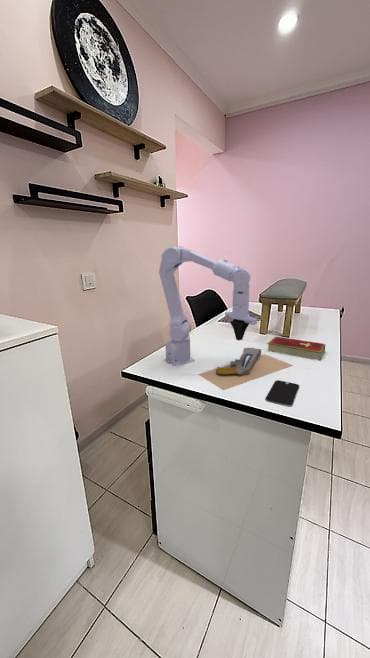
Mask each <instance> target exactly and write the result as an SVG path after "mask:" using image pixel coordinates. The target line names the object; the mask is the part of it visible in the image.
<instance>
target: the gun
mask: <svg viewBox="0 0 370 658" xmlns="http://www.w3.org/2000/svg"><path fill="white" fill-rule="evenodd" d="M260 355H262V349H260V348H256V347H244V348H243V350H242V354H241V355H240V357H239V359H238V358H237V359H235V360H232V361H230V362H229V364H228V365H229V367H226V368H221V367H222V366H220V367H219V366H217V367H216V368H215V369H216V373H217V374H240V375H243V374H246V375H249V374H250V372H251V370H252V368H253V367H254V365H255V363H256V361H257V360H258V359H259V356H260Z"/></svg>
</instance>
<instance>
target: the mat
mask: <svg viewBox="0 0 370 658" xmlns="http://www.w3.org/2000/svg"><path fill="white" fill-rule="evenodd" d="M229 365H230V364H227V365H224V366H220V367H221V368H226V367H229ZM293 366H294V365H293V364H291V363H288V362H286V361H283V360H281V359H278V358H275V357H272V356H269V355H267V354H265V353H264V354H261V355H260V356H259V359H258V360H257V361H256V363H255V365H254V367H253V368H252V370H251V372H250V374H249V375H246V374H243V375H240V374H217V373H216V369H217V368H213V369H211V370H207V371H204V372H200V373H198V374H197V375H198V376H200V377H201V378H204V379H205V380H206V381H208V382H210V383H211V384H213V385H214V386H216V387H218V388H219V389H220V390H223V391H225V390H228V389H231V388H233V387H236V386H240V385H242V384H245V383H247V382H250V381H254V380H256V379H260V378H261V377H265V376H267V375H271V374H273V373H275V372H279V371H281V370H284V369H287V368H290V367H293Z"/></svg>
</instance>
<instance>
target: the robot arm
mask: <svg viewBox="0 0 370 658" xmlns="http://www.w3.org/2000/svg"><path fill="white" fill-rule="evenodd" d="M160 257H161V261H160V265H159V268H158V274H159V278H160V281H161V285H162V288H163V289H162V290H163V293H164V298H165V301H166V305H167V308H168V313H169V317H170V318H169V336H170V339H171V340H169V341H167V342H165V359H164V360H165V361H166V362H168V363H170V364H171V365H172V366H174V367H176V366H177V367H178V366H181V365H184V364H188V363H191V362H195V360H196V359H195V358H193V357H191V337H190V333H191V332H192V324H191V323H190V322H189V320H188V318H187V316H186V315H185V313H184V310H183V306H182V301H181V297H180V293H179V290H178V285H177V281H176V278H175V277H176V276H175V273H176V271H177V269H178V268H179V267H180V266H181V265H182V264H183V263H186V262H191V263H195V264H196V265H197V264H198V265H200V266H202V267H205V268H208V269H210V270H211V271H212V273H213V275H214V276H217V277H219V278H221V279H224V280H225V281H227V282H232V283H233V291H232V307H231V308H232V311H226V312H225V313H224V317H225V318H228V319H229V318H230V319H232V320H230V322H229V323H230V325H231V326H232V329H233V333H234V336H235V340H236V341H243V339H244V336H245V333H246V330H247V328H248V327H249V325H251V326H256V325H257V324H258V318H255V317H253V316H250V314H249V307H250V306H249V305H250V280H251V273H250V271H249V270H247V269H246V268H245V267H242V268H241V265H239V264H237V265H235V264H233V263H230V262H228V259H225V258H224V259H222V258H221V259H218V260H215V259H212V258H210V257H208V256H206V255H205V254H202V253H200V252H198V251H196V250H193V249H190V248H187V247H184V246H181V245H180V246H179V245H178V246H174V245H170V246H168V247H166V248H165V249H164V251H163V252H162V253H161V255H160Z"/></svg>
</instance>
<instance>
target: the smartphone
mask: <svg viewBox="0 0 370 658" xmlns="http://www.w3.org/2000/svg"><path fill="white" fill-rule="evenodd" d="M299 389H300V385H299V384H297V383H293V382H289V381H284V380H280V379H279V380H275V381H274V383H273V385H272V386H271V388H270V389H269V390H268V393H267V394H266V396H265V399H264V400H265V401H266V402H267V403H272V404H275V405H280V406H282V407H283V406H284V407H288V408H290V407H293V405H294V403H295V401H296V397H297V396H298V395H297V394H298V391H299Z"/></svg>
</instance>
